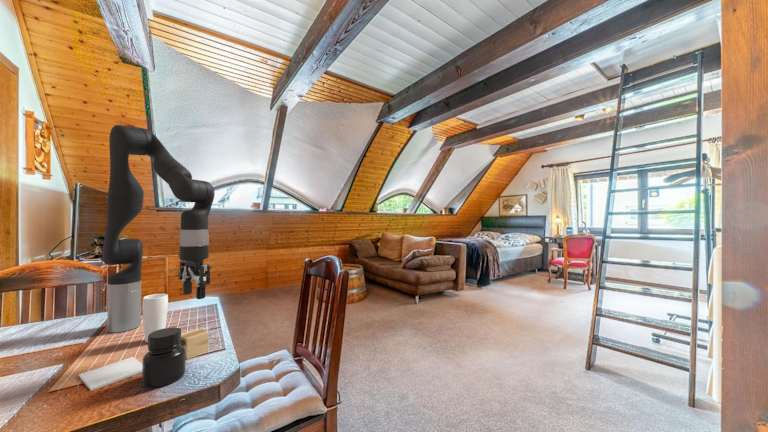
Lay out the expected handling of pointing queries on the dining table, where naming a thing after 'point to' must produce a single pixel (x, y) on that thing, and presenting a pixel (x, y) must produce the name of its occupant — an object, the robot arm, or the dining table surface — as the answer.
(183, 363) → the ink bottle
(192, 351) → the lettered block
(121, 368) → the white mat
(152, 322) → the white cup
